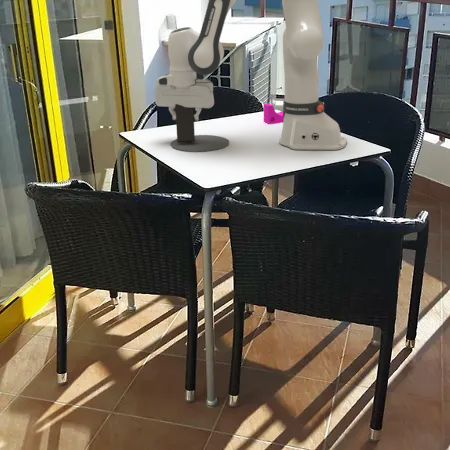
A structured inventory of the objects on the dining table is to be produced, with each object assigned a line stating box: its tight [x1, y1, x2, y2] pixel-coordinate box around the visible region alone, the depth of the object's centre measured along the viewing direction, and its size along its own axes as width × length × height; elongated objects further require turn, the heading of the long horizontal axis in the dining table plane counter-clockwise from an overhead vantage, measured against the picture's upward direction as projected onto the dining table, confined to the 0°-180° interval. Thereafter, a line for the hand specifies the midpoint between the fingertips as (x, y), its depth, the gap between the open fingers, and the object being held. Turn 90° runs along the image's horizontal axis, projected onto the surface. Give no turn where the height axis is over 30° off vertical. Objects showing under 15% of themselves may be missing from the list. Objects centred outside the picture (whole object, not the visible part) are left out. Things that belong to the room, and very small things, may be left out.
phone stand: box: [174, 104, 196, 142], centre depth 216 cm, size 9×6×12 cm, turn 3°
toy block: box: [263, 103, 284, 125], centre depth 244 cm, size 15×6×8 cm, turn 115°
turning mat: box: [170, 134, 230, 153], centre depth 217 cm, size 20×20×1 cm
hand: (185, 120), depth 216 cm, fingers closed on phone stand, 6 cm apart
